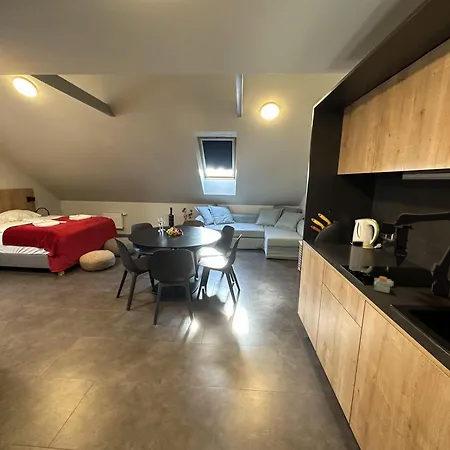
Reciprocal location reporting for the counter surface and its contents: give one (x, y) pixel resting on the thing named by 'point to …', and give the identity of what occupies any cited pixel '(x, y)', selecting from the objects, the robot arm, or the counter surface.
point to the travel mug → (356, 255)
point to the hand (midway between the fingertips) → (397, 264)
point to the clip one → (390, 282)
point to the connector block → (382, 281)
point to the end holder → (382, 287)
